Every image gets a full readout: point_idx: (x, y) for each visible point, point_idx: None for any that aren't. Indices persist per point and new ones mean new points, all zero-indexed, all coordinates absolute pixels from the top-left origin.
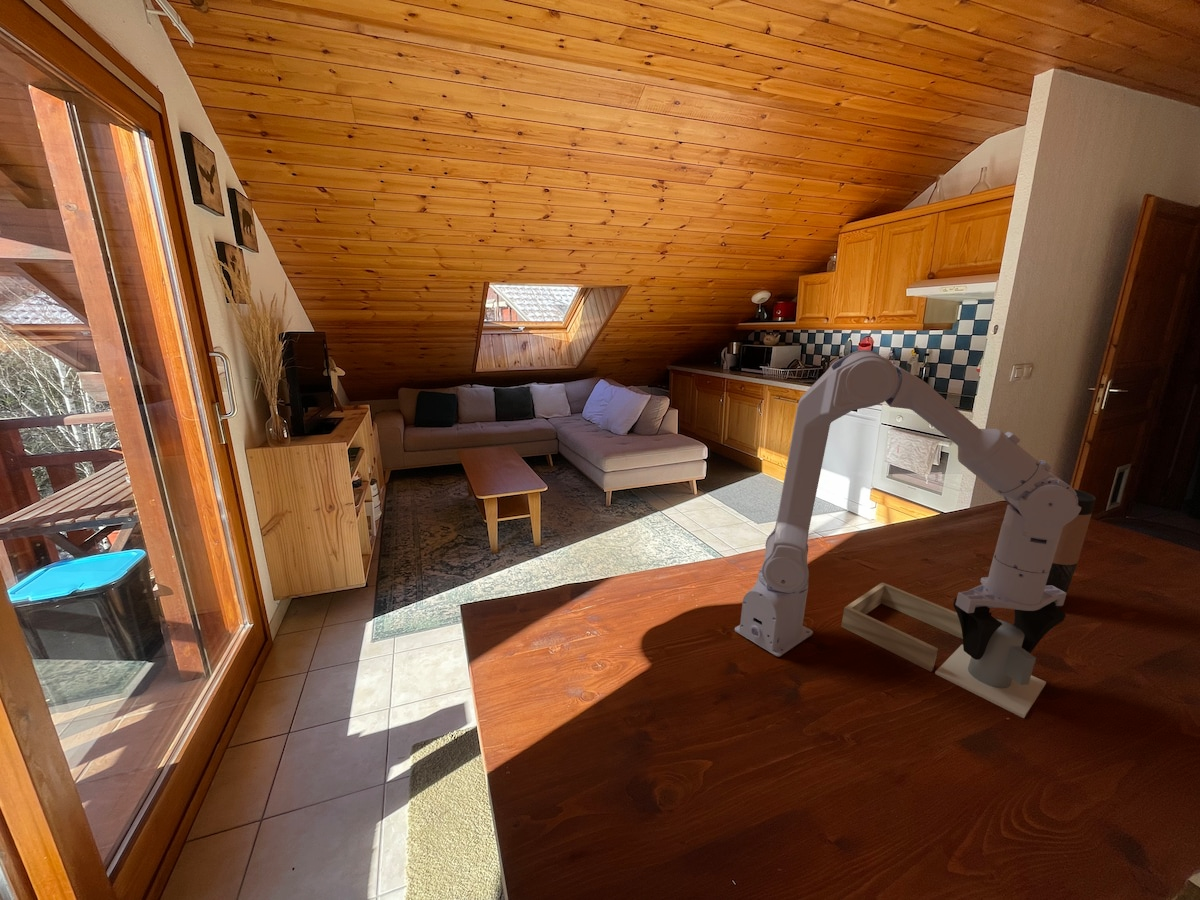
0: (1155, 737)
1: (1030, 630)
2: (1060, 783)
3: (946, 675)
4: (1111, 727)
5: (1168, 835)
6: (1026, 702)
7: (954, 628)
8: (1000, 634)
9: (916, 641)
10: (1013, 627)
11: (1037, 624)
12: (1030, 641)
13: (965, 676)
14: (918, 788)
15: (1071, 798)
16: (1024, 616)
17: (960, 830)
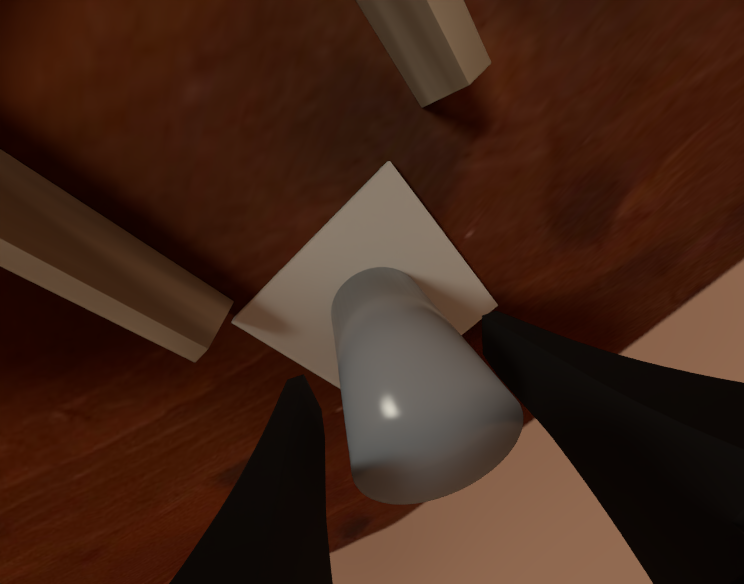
0: None
1: (560, 418)
2: (338, 489)
3: (258, 332)
4: (503, 383)
5: (408, 504)
6: None
7: (411, 62)
8: (400, 490)
9: (117, 322)
10: (505, 427)
11: (599, 480)
12: (522, 394)
13: (312, 325)
14: (120, 556)
15: (337, 502)
16: (614, 441)
17: (168, 573)
